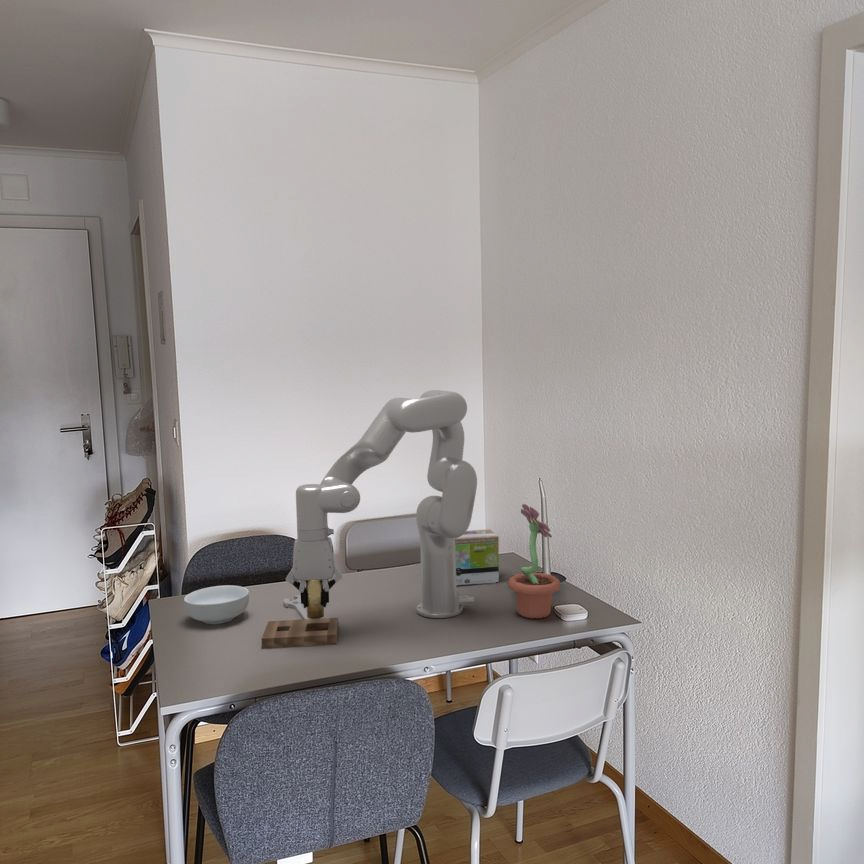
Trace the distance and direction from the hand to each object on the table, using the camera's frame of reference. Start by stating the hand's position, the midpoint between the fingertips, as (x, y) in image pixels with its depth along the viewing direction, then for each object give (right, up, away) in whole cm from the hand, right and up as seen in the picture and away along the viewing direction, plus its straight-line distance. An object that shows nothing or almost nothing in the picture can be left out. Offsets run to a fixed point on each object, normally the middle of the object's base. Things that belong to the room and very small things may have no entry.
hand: (315, 605), depth 194 cm
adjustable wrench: (-7, -7, +19) cm, 21 cm away
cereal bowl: (-29, -8, +16) cm, 34 cm away
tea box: (+41, -2, +44) cm, 60 cm away
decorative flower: (+57, -5, +12) cm, 58 cm away
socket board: (-4, -8, +1) cm, 9 cm away
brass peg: (0, -3, 0) cm, 3 cm away
